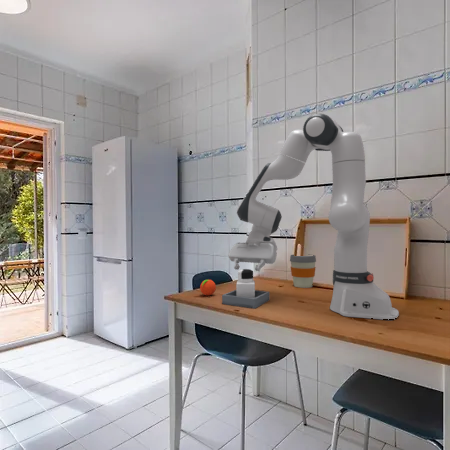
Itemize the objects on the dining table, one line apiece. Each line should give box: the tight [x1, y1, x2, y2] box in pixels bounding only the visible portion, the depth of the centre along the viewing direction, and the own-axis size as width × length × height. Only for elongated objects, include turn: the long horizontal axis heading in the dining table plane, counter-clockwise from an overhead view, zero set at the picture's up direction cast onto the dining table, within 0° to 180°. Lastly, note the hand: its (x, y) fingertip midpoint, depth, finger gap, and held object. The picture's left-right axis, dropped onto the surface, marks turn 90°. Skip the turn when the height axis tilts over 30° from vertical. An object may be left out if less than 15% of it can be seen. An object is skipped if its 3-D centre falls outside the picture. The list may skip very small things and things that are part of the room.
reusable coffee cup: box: [289, 254, 317, 289], centre depth 161 cm, size 12×12×15 cm
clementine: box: [199, 279, 217, 297], centre depth 142 cm, size 8×7×7 cm
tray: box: [221, 289, 270, 310], centre depth 130 cm, size 14×14×4 cm
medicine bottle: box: [235, 268, 256, 299], centre depth 130 cm, size 7×7×12 cm
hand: (246, 269), depth 130 cm, fingers open, 8 cm apart
